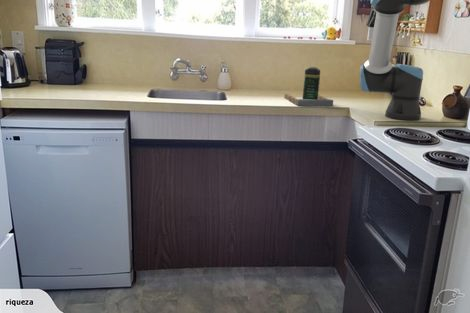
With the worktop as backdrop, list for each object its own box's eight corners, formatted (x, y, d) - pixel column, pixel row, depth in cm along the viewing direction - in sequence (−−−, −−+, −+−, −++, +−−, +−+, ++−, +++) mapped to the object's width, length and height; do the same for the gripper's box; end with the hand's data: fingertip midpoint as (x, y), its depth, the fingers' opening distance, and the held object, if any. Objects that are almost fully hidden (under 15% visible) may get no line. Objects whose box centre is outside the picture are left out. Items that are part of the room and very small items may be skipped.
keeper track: (331, 105, 218) (331, 100, 218) (296, 105, 216) (296, 100, 215) (315, 98, 241) (316, 93, 240) (284, 97, 238) (284, 93, 238)
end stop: (332, 106, 216) (333, 100, 215) (297, 106, 213) (298, 100, 212) (330, 105, 219) (331, 99, 218) (296, 104, 216) (296, 99, 215)
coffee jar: (316, 105, 218) (320, 68, 212) (301, 104, 219) (304, 67, 214) (318, 102, 227) (321, 66, 221) (303, 101, 228) (306, 66, 223)
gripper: (404, -7, 193) (398, 41, 199) (376, -3, 217) (371, 40, 222) (390, -8, 192) (383, 41, 197) (362, -4, 215) (357, 40, 221)
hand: (377, 40), depth 210 cm, fingers open, 13 cm apart
